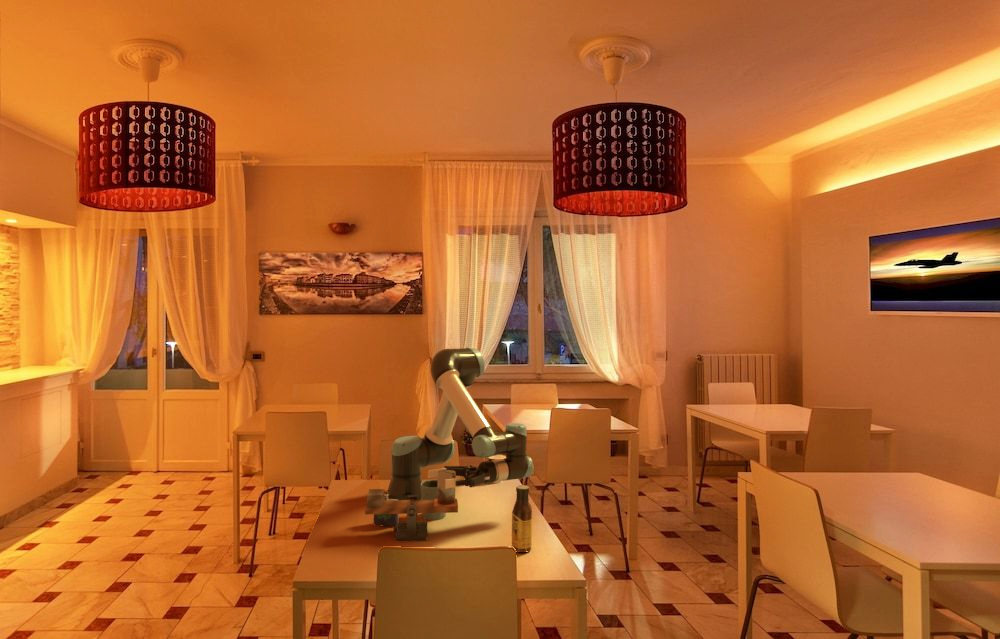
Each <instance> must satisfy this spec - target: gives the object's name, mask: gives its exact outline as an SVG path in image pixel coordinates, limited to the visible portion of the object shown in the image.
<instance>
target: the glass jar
mask: <svg viewBox="0 0 1000 639" xmlns="http://www.w3.org/2000/svg"><path fill="white" fill-rule="evenodd" d="M454 478H457V476H456V472H455V471H453V470H441V471H438V478H437V480H438V485H437V503H439V504H442V505H449V504H454V503H455V498H456V487H454V488H447V489H446V488H445V480H446V479H454Z"/></svg>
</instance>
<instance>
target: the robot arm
mask: <svg viewBox="0 0 1000 639" xmlns="http://www.w3.org/2000/svg"><path fill="white" fill-rule="evenodd" d="M484 359H485V358H484V356H483V354H482V353H481V351H479V349H477V348H474V347H472V348H471V347H465V348H460V347H459V348H443V349H441V350H439V351H438V352H436V354H434V355H433V357H432V360H431V362H430V365H429V368H430V370H429V371H430V376H431V378H432V380H433V382H434V384H435V385H436V387H437V388H438V389H442V391H443V392H442V394H441V397H440V401H439V404H438V406H437V410H436V412H435V415H434V418H433V421H432V424H431V427H429V428H427V429H426V431H425V433H424V436H423V437H422V438H421V436H419V435H406V436H405V435H404V436H401V437H399V438H396V439H395V440H394V441H393V442H392V445H391V479H390V482H389V483H388V484H389V485H388V488H387V490H386V494H389V496H388V499H397V500H408V496H411V495H417V500H421V483H422V482H423V479H422V468H427V467H431V466H436V465H437V466H438V465H442V464H444V463H448V462H449V461H450V460H451V459H453V456H454V454H455V447H454V446H455V440H453V439H454V438H453V435H452V432H453V430H454V429H453V428H454V426H455V424H456V422H457V421H456V420H457V418H460V420H461V421H462V423H463V425H464V427H465V428H466V430H467V431H468V433H469V435H470V436H471V437H472V441H471V448H472V452H473V454H474V455H475V456H476V457H478V458H481V459H482V458H488V457H492V456H495V455H503V454H505V457H506V458H505V459H498V460H492V461H489V460H483V461H481V462H480V463H479V465H478V466H477V467H476V466H473V465H471V464H470V465H445V466H444V468H443V467H442V468H436V469H428V471H427V472H428V474H427V477H428V480H432V479H438V471H441V470H453V471H455V472H456V478H454V479H446V480H445V488H446V489H447V488H454V487H455V488H459V487H469V488H474V487H476V486H479V485H481V484H484V485H486V484H494V483H493V482H499V483H498V484H501V483H502V482H504V481H510V480H513V481H514V480H522V479H525V478H529V477H531V476H532V474H534V467H535V466H534V462H533V459H532V457H530V456H528V454H527V447H528V446H527V445H528V444H527V443H528V442H527V441H528V440H527V439H528V436H527V435H528V433H527V426H526V425H525V424H523V423H517V422H515V423H514V422H513V423H508V424H506V426H505V431H498V432H495V431H494V429H493V427H492V426H491V425H490V423H489V421H488V420H487V418H486V416H485V415H484V414H483V412H482V411H481V409H480V408H479V406H478V404H477V403H476V401H475V400H474V398H473V397H472V396H471V393H470V392H469V391H468V388H470V387H472V386H473V385H474V382H475V379H476V378H479V377H481V376H483V374H484V372H485V368H486V362H485V360H484ZM457 476H458V477H457ZM501 481H502V482H501Z"/></svg>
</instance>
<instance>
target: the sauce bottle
mask: <svg viewBox="0 0 1000 639" xmlns="http://www.w3.org/2000/svg"><path fill="white" fill-rule="evenodd" d="M515 491H516V499H515V500H516V501H515V503H514V505H513V509H512V512H511V547H512V546H513V547H514V548H515V549H516V551H517V552H526V551H530V552H531V550H532V545H533V542H532V541H533V509H532V505H531V504H530V502H529V501H530V496H529V493H530V486H528V485H526V484H525V485H524V484H521V485H517V486H516V488H515ZM517 552H516V553H517Z"/></svg>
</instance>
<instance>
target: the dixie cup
mask: <svg viewBox="0 0 1000 639" xmlns="http://www.w3.org/2000/svg"><path fill="white" fill-rule="evenodd" d="M487 458H488V461H492V460H498V459H506V455H503V454H499V455H495V456H492V457H487ZM493 484H500V483H499V482H494V483H493Z"/></svg>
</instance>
